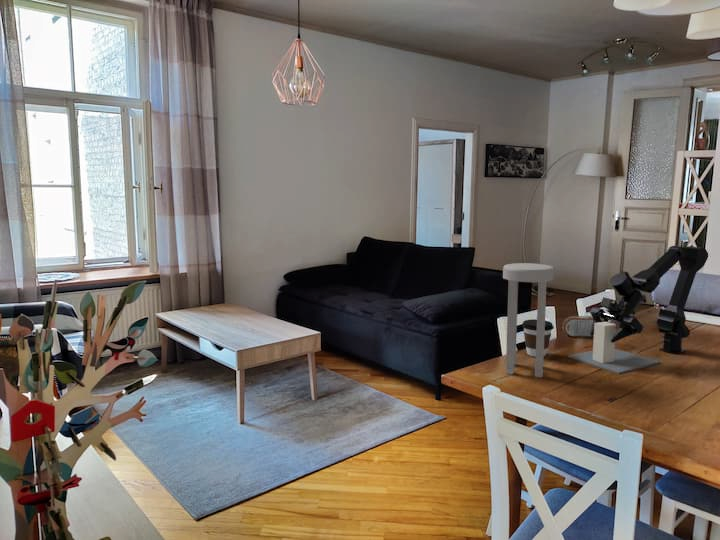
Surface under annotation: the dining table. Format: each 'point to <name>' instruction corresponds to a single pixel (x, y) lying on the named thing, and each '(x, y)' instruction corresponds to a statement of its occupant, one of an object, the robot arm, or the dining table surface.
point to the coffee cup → (531, 332)
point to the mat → (616, 361)
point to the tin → (578, 326)
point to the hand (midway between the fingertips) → (601, 338)
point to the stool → (515, 275)
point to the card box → (604, 342)
